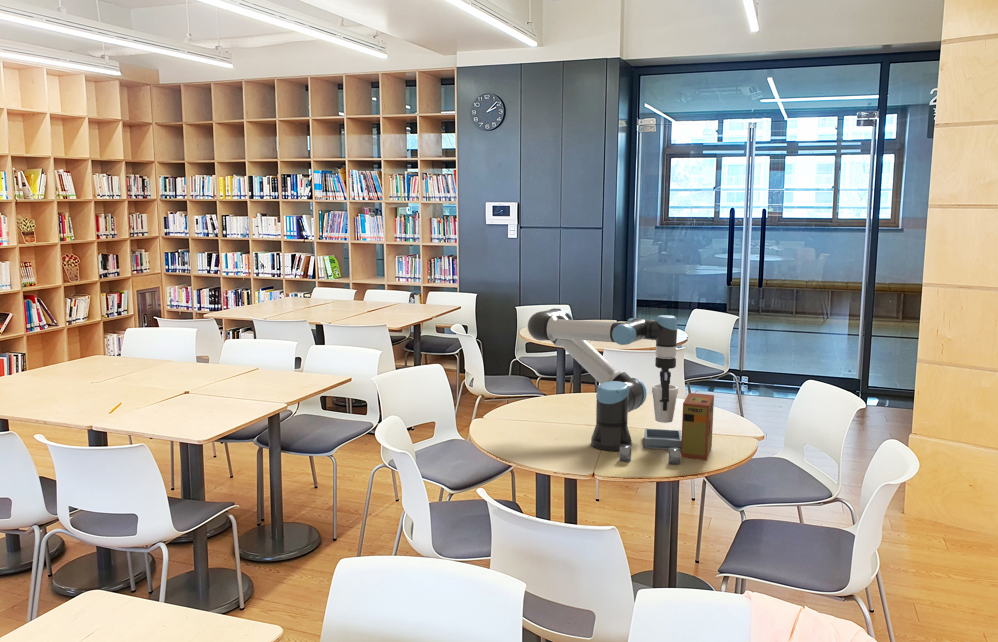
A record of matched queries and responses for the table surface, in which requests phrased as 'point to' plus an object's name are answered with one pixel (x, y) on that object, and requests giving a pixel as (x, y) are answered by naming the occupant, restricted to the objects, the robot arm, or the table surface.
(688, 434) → the box
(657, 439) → the tray
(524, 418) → the table surface
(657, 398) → the foam cup
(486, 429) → the table surface
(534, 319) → the robot arm
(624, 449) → the metal cylinder
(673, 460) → the shiny gray cylinder
